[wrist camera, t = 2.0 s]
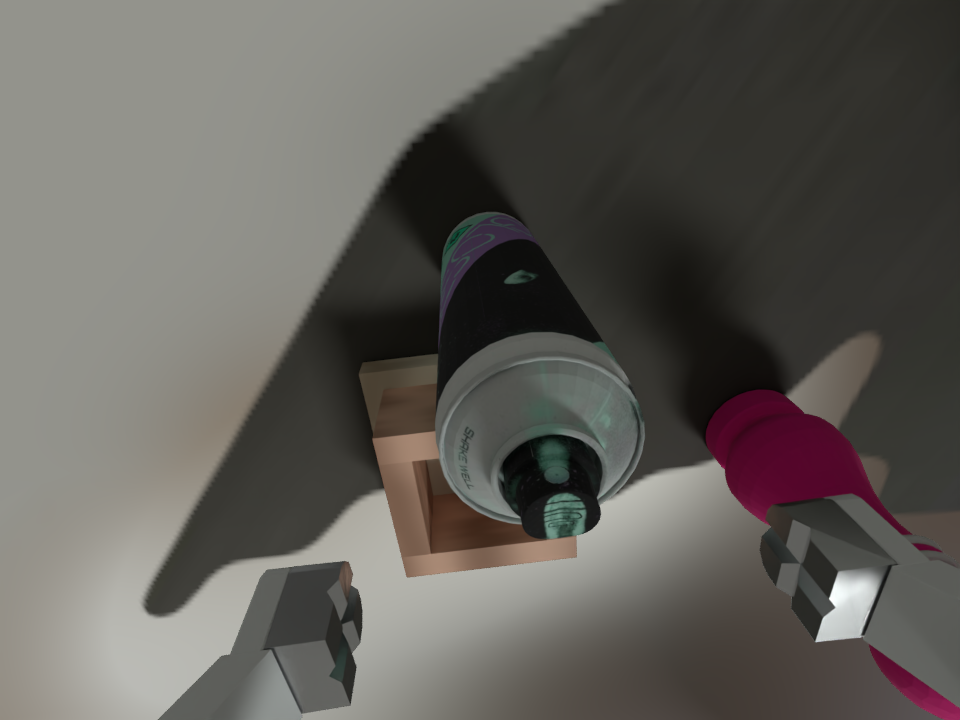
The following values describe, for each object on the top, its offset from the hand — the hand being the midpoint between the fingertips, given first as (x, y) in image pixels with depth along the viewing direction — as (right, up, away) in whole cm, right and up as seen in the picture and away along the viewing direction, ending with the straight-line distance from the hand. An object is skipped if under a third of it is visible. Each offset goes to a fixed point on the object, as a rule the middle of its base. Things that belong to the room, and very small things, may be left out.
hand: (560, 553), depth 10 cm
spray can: (-1, +10, +19) cm, 21 cm away
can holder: (-2, -1, +24) cm, 24 cm away
